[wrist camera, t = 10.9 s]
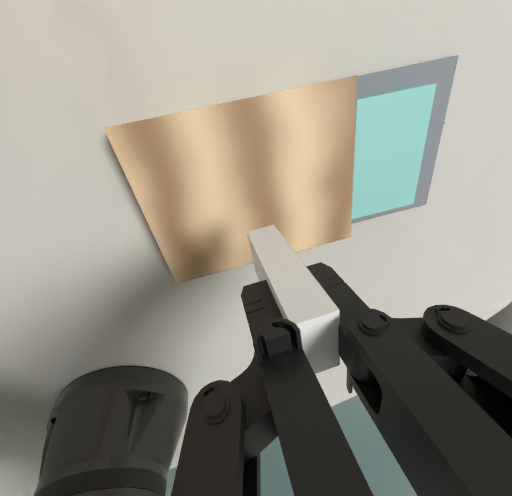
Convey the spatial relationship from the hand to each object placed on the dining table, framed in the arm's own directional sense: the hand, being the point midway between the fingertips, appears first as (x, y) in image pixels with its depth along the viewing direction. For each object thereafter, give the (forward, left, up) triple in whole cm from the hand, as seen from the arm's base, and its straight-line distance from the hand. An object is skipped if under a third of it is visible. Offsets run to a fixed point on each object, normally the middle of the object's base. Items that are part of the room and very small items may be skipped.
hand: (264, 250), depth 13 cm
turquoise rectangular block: (+12, +1, -8) cm, 14 cm away
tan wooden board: (+1, +1, -9) cm, 9 cm away
